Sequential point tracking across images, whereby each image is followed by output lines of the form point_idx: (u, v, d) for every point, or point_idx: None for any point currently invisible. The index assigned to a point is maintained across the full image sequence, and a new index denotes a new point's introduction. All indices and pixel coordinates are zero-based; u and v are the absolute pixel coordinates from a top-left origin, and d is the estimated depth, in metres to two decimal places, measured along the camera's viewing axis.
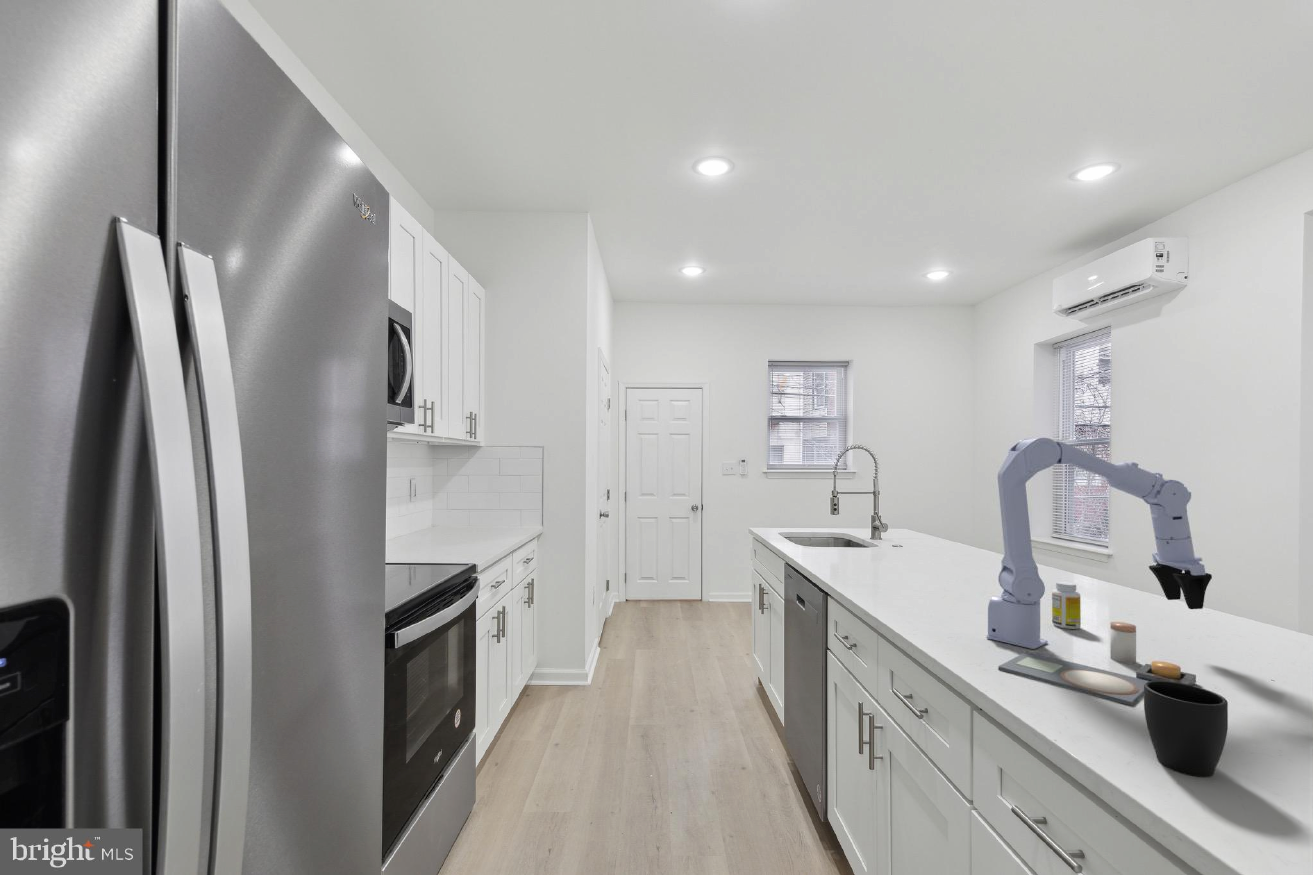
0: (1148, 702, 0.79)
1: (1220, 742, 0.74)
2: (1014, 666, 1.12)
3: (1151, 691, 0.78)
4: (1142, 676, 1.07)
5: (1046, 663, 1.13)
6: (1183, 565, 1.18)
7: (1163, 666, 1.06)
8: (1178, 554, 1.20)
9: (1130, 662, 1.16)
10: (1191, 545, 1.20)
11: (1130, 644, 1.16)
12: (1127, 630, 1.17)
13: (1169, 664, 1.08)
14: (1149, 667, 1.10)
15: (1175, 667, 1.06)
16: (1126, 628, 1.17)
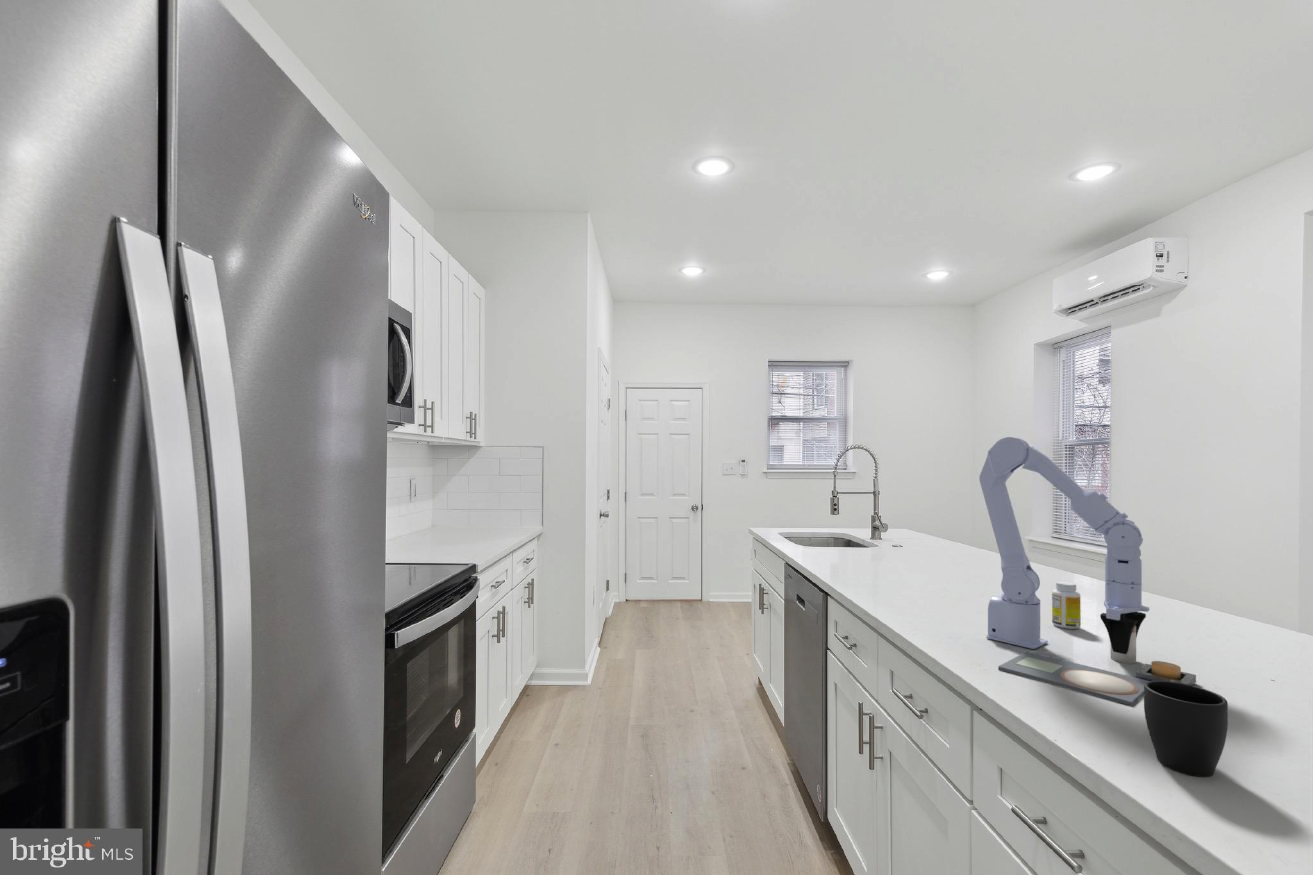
0: (1148, 702, 0.79)
1: (1220, 742, 0.74)
2: (1014, 666, 1.12)
3: (1151, 691, 0.78)
4: (1142, 676, 1.07)
5: (1046, 663, 1.13)
6: (1106, 607, 1.16)
7: (1163, 666, 1.06)
8: (1114, 597, 1.18)
9: (1130, 662, 1.16)
10: (1132, 592, 1.16)
11: (1130, 644, 1.16)
12: None
13: (1169, 664, 1.08)
14: (1149, 667, 1.10)
15: (1175, 667, 1.06)
16: None
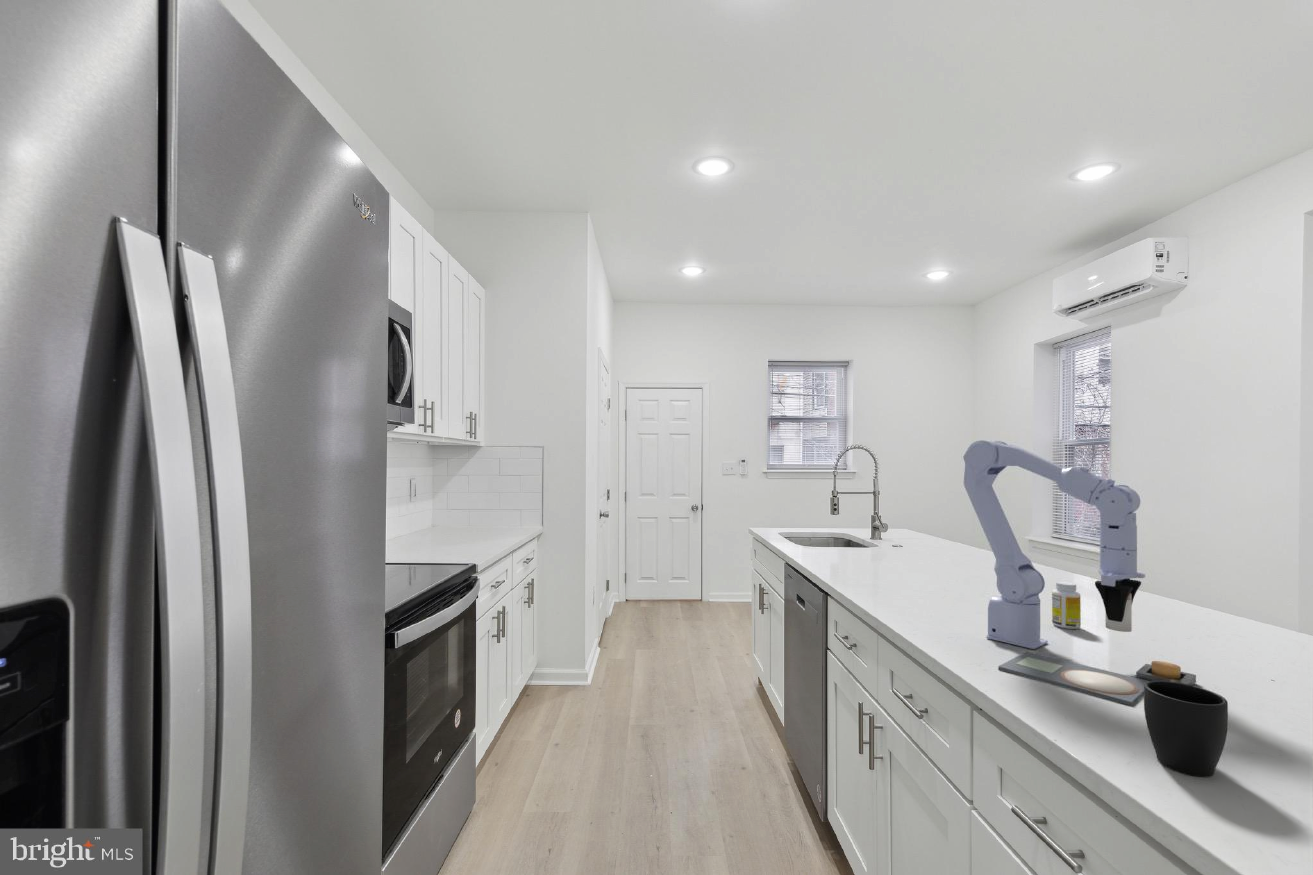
0: (1148, 702, 0.79)
1: (1220, 742, 0.74)
2: (1014, 666, 1.12)
3: (1151, 691, 0.78)
4: (1142, 676, 1.07)
5: (1046, 663, 1.13)
6: (1101, 574, 1.14)
7: (1163, 666, 1.06)
8: (1108, 564, 1.15)
9: (1125, 630, 1.14)
10: (1128, 558, 1.13)
11: (1125, 612, 1.14)
12: None
13: (1169, 664, 1.08)
14: (1149, 667, 1.10)
15: (1175, 667, 1.06)
16: None
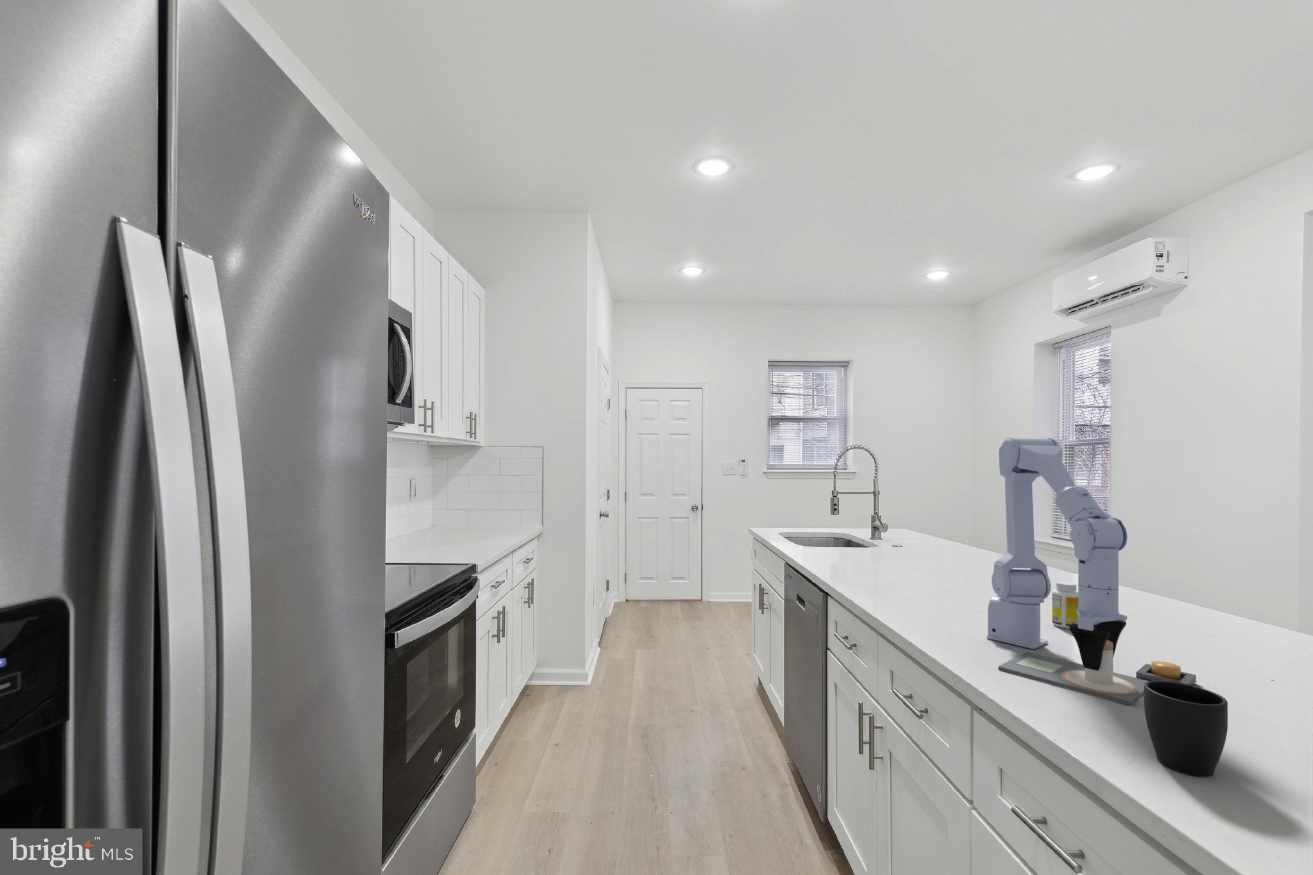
0: (1148, 702, 0.79)
1: (1220, 742, 0.74)
2: (1014, 666, 1.12)
3: (1151, 691, 0.78)
4: (1142, 676, 1.07)
5: (1046, 663, 1.13)
6: (1079, 615, 1.03)
7: (1163, 666, 1.06)
8: (1087, 605, 1.04)
9: (1106, 684, 1.03)
10: (1108, 599, 1.02)
11: (1106, 664, 1.03)
12: None
13: (1169, 664, 1.08)
14: (1149, 667, 1.10)
15: (1175, 667, 1.06)
16: None
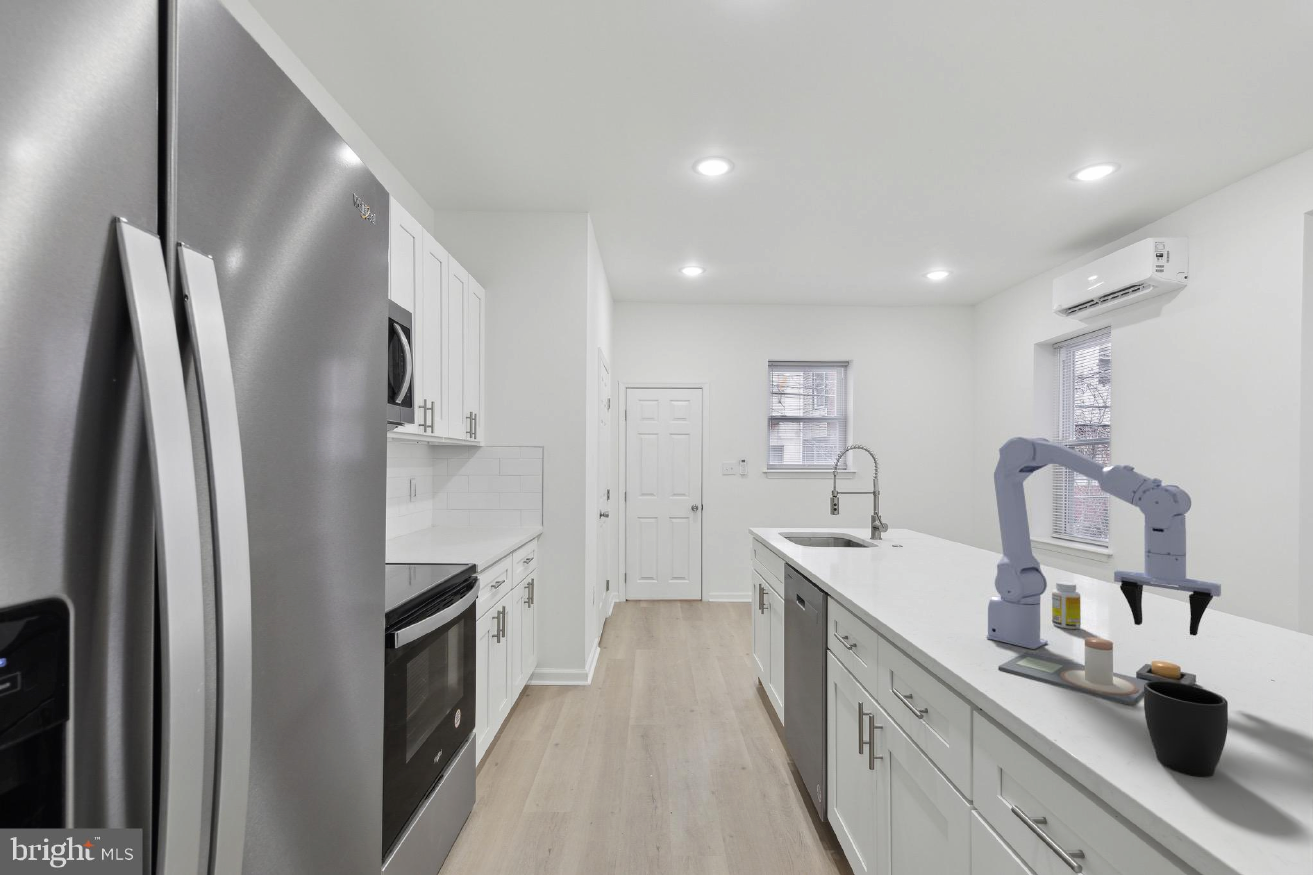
0: (1148, 702, 0.79)
1: (1220, 742, 0.74)
2: (1014, 666, 1.12)
3: (1151, 691, 0.78)
4: (1142, 676, 1.07)
5: (1046, 663, 1.13)
6: None
7: (1163, 666, 1.06)
8: None
9: (1106, 684, 1.03)
10: (1148, 561, 1.08)
11: (1106, 664, 1.03)
12: (1103, 647, 1.03)
13: (1169, 664, 1.08)
14: (1149, 667, 1.10)
15: (1175, 667, 1.06)
16: (1101, 645, 1.03)
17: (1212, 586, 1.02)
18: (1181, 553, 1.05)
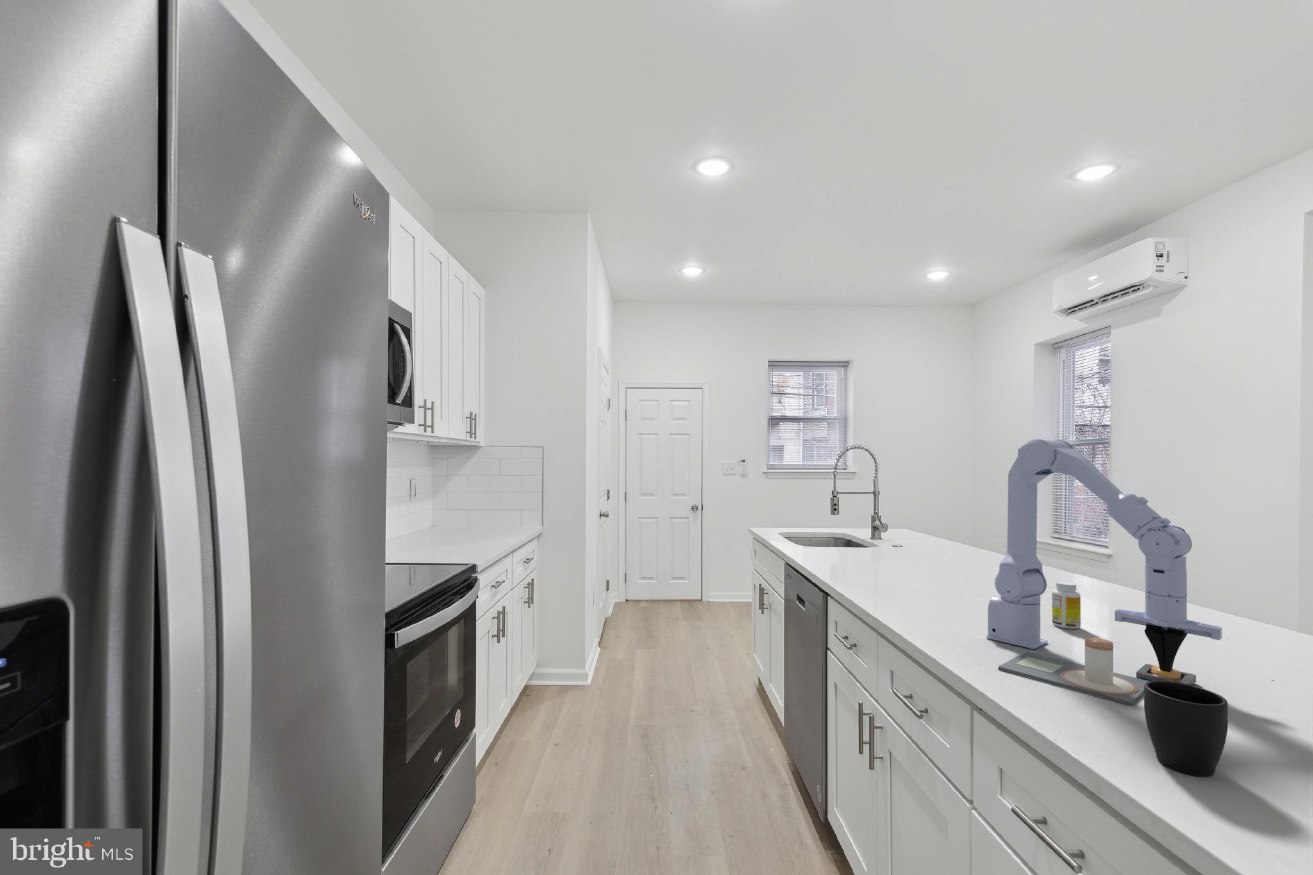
0: (1148, 702, 0.79)
1: (1220, 742, 0.74)
2: (1014, 666, 1.12)
3: (1151, 691, 0.78)
4: (1142, 676, 1.07)
5: (1046, 663, 1.13)
6: None
7: (1163, 671, 1.06)
8: None
9: (1106, 684, 1.03)
10: (1148, 601, 1.08)
11: (1106, 664, 1.03)
12: (1103, 647, 1.03)
13: None
14: (1149, 667, 1.10)
15: (1175, 672, 1.06)
16: (1102, 645, 1.03)
17: (1213, 629, 1.02)
18: (1182, 595, 1.05)
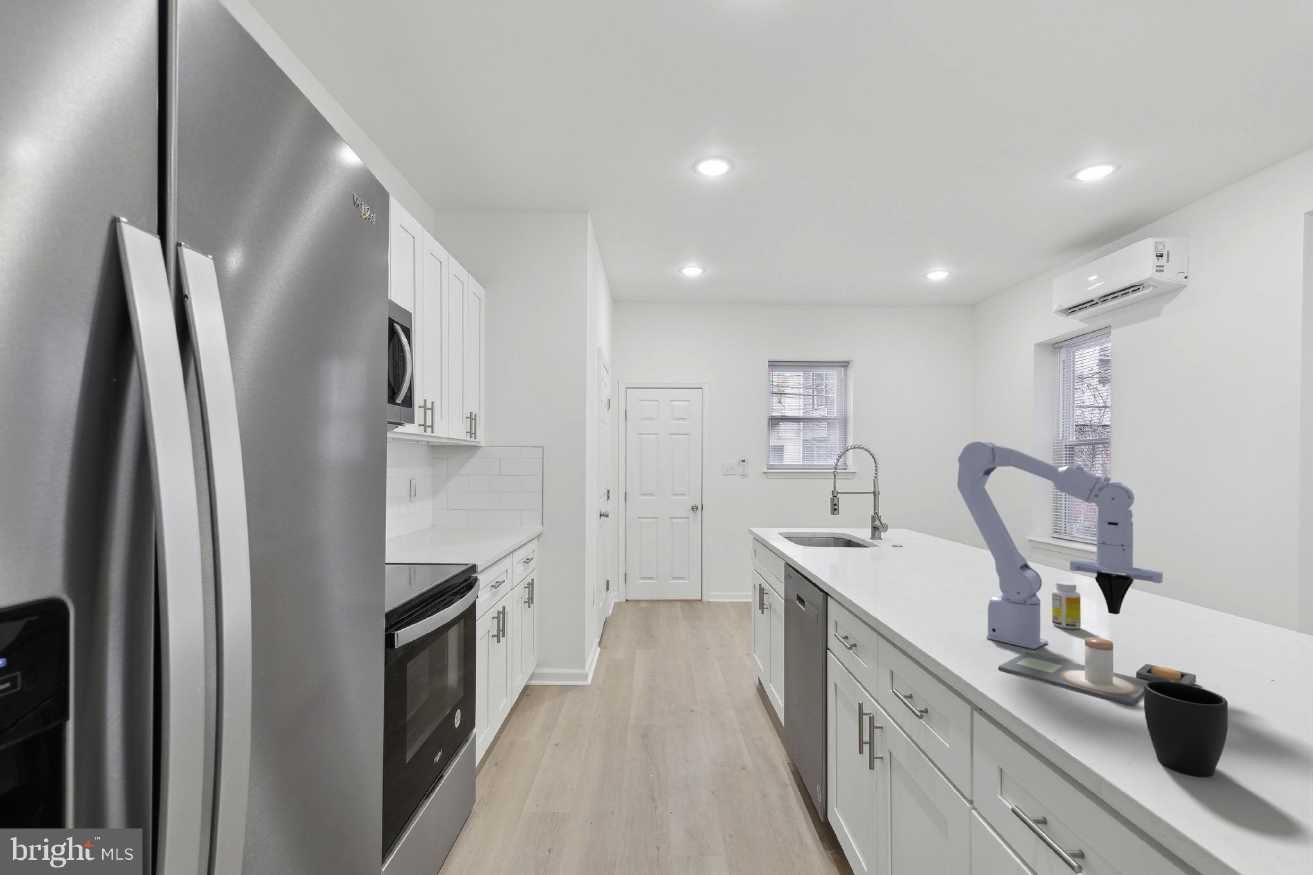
0: (1148, 702, 0.79)
1: (1220, 742, 0.74)
2: (1014, 666, 1.12)
3: (1151, 691, 0.78)
4: (1142, 676, 1.07)
5: (1046, 663, 1.13)
6: None
7: (1163, 672, 1.06)
8: None
9: (1106, 684, 1.03)
10: (1099, 551, 1.19)
11: (1106, 664, 1.03)
12: (1103, 647, 1.03)
13: (1169, 669, 1.07)
14: (1149, 667, 1.10)
15: (1175, 673, 1.06)
16: (1102, 645, 1.03)
17: (1154, 574, 1.13)
18: (1131, 544, 1.16)
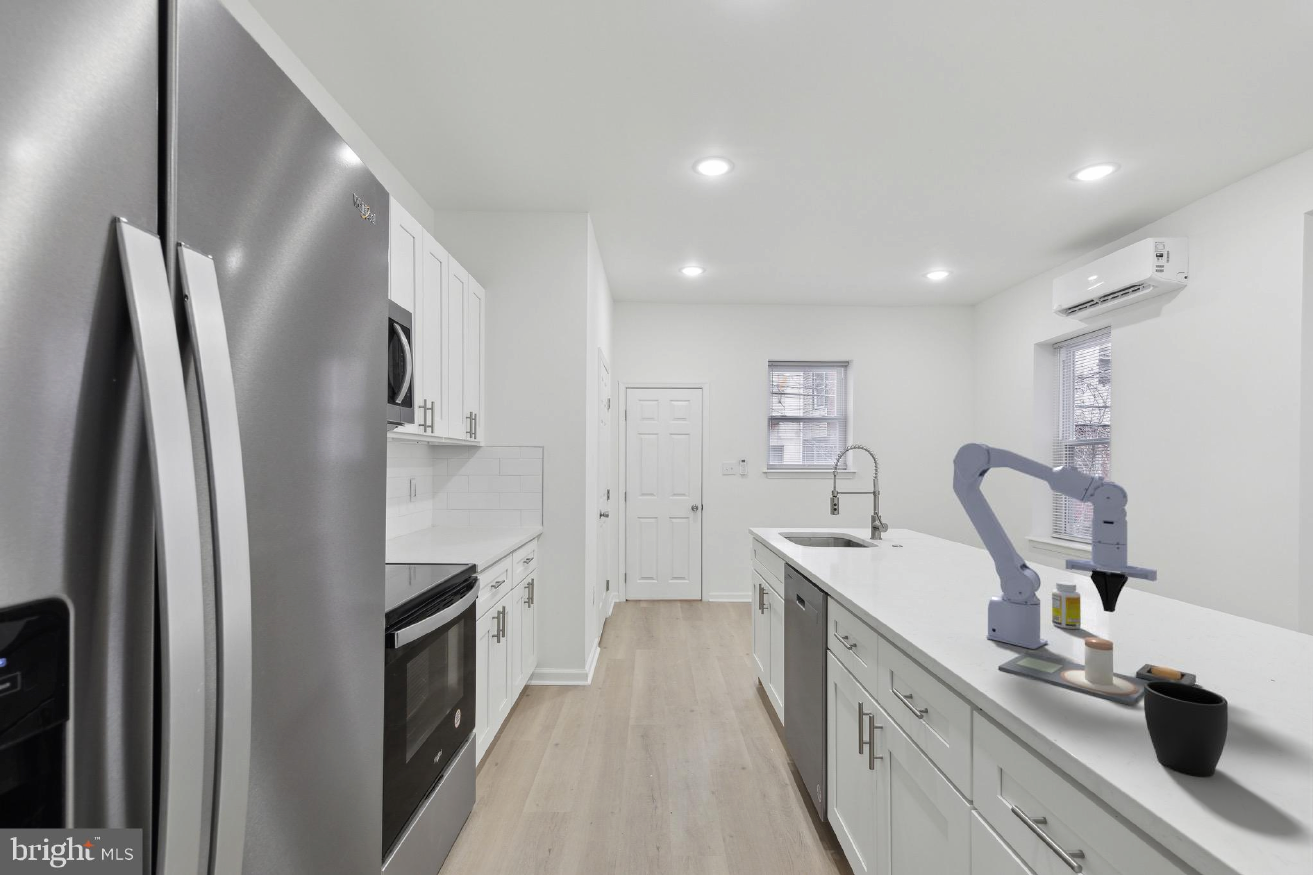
0: (1148, 702, 0.79)
1: (1220, 742, 0.74)
2: (1014, 666, 1.12)
3: (1151, 691, 0.78)
4: (1142, 676, 1.07)
5: (1046, 663, 1.13)
6: None
7: (1163, 672, 1.06)
8: None
9: (1106, 684, 1.03)
10: (1094, 549, 1.20)
11: (1106, 664, 1.03)
12: (1103, 647, 1.03)
13: (1169, 669, 1.07)
14: (1149, 667, 1.10)
15: (1175, 673, 1.06)
16: (1102, 645, 1.03)
17: (1148, 572, 1.14)
18: (1126, 542, 1.17)
